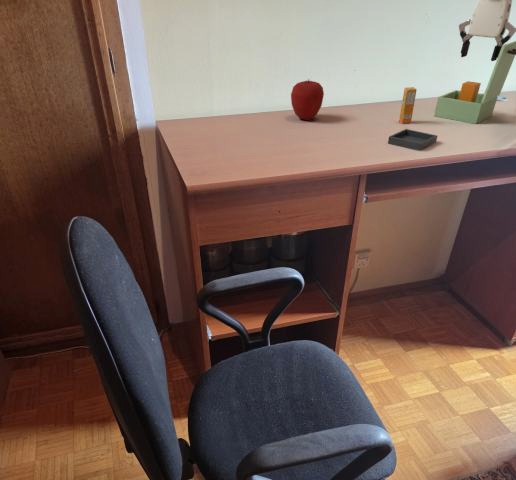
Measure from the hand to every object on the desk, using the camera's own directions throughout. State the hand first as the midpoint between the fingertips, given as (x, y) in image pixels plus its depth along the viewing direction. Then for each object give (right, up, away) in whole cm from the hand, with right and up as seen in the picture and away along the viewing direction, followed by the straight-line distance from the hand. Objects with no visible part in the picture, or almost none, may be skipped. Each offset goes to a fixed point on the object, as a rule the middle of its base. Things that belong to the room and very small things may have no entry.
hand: (478, 58), depth 143 cm
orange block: (0, -12, +10) cm, 16 cm away
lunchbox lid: (+6, -6, -2) cm, 8 cm away
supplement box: (-22, -18, +5) cm, 29 cm away
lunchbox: (0, -13, +11) cm, 17 cm away
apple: (-54, -15, +8) cm, 57 cm away
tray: (-25, -32, -12) cm, 43 cm away
